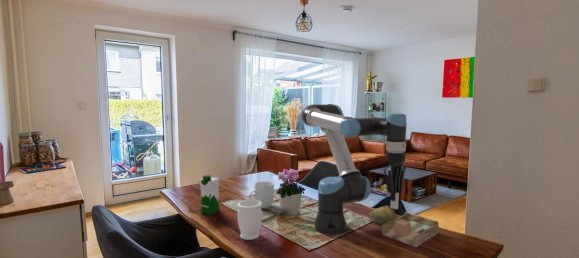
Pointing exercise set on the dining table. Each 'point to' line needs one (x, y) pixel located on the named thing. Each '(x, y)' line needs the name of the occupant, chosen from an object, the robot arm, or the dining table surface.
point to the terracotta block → (402, 227)
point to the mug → (264, 193)
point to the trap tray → (412, 229)
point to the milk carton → (209, 195)
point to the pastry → (382, 215)
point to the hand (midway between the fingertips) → (394, 207)
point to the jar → (249, 218)
